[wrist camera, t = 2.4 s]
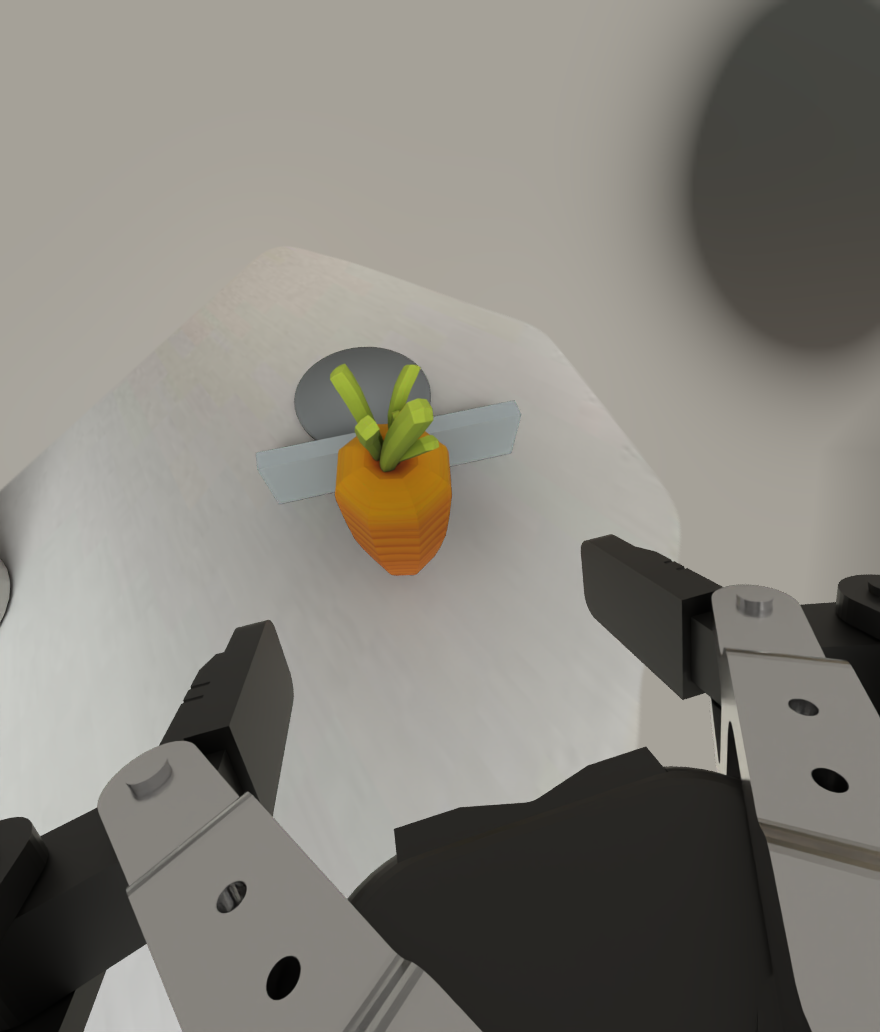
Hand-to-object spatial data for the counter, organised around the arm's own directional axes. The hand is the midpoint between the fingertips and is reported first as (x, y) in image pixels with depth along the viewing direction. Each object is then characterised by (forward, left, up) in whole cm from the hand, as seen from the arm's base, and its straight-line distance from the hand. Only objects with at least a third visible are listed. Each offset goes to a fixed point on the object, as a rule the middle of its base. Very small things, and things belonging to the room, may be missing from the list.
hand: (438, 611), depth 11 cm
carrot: (0, +7, -14) cm, 16 cm away
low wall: (+1, +14, -14) cm, 20 cm away
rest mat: (0, +21, -14) cm, 25 cm away
